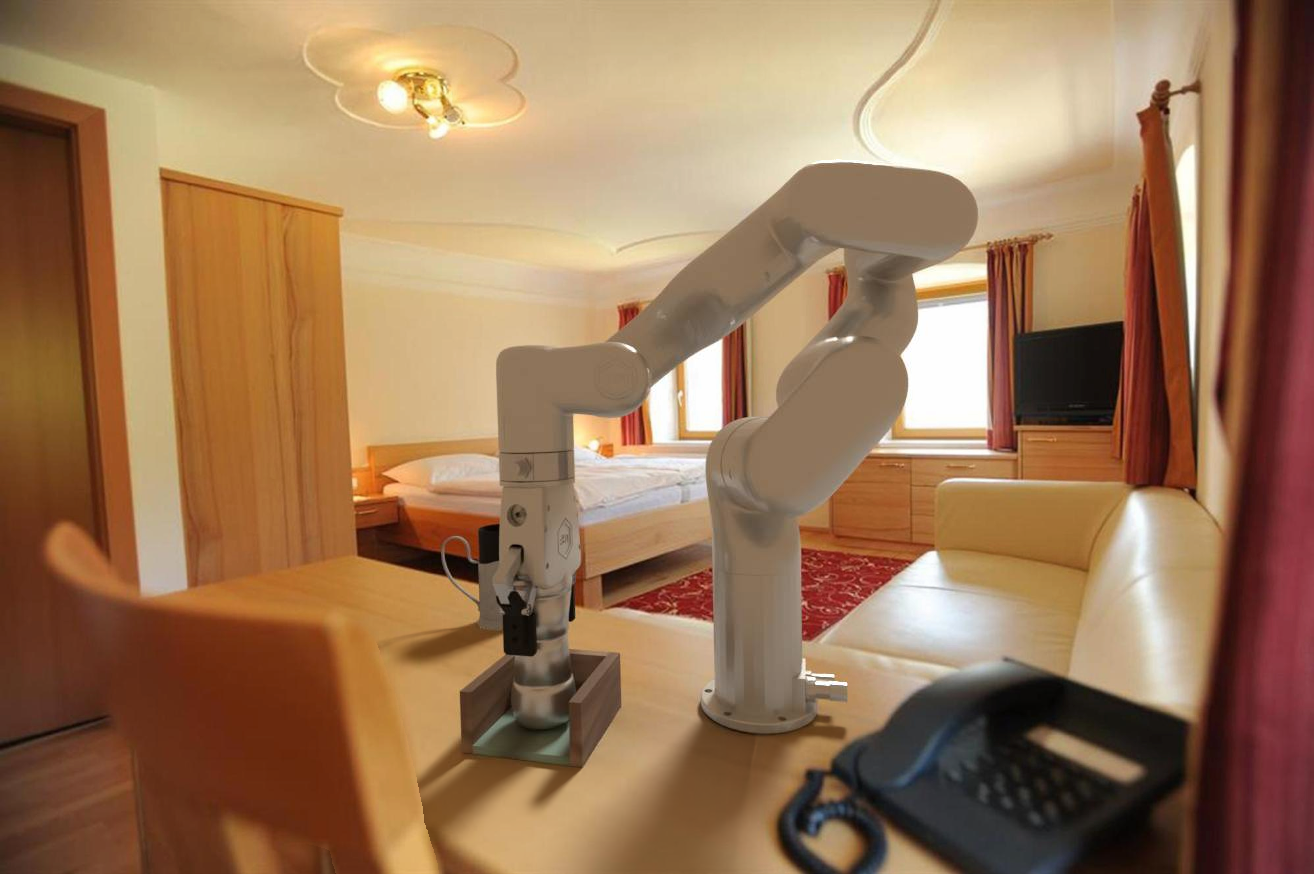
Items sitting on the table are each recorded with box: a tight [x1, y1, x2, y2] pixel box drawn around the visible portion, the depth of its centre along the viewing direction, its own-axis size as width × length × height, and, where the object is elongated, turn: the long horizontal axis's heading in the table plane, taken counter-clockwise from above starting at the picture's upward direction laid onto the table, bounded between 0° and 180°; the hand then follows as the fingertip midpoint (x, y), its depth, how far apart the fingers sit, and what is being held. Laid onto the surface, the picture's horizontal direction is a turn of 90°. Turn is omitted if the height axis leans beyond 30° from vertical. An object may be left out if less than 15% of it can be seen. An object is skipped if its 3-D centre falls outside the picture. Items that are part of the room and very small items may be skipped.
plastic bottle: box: [511, 572, 576, 730], centre depth 62 cm, size 6×7×20 cm
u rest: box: [459, 648, 622, 768], centre depth 63 cm, size 12×12×6 cm
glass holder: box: [440, 523, 503, 632], centre depth 96 cm, size 9×14×15 cm, turn 90°
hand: (542, 636), depth 62 cm, fingers open, 9 cm apart
